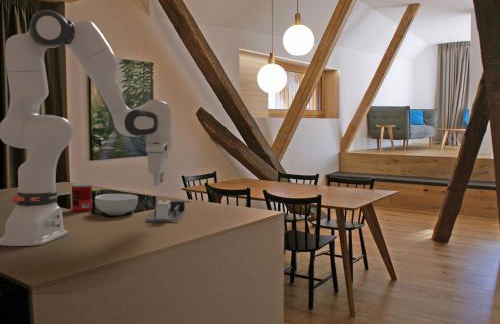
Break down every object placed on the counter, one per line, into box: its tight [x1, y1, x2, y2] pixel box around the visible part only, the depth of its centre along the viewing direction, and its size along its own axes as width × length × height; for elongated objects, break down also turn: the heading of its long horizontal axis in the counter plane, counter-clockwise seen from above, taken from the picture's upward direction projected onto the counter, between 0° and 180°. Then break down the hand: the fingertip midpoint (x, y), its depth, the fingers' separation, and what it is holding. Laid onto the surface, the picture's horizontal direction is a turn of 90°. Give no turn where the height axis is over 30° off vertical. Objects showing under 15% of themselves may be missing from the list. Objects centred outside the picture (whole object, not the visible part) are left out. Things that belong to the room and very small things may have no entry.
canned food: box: [71, 182, 93, 213], centre depth 195 cm, size 8×8×11 cm
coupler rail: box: [145, 199, 186, 223], centre depth 185 cm, size 22×12×4 cm, turn 1°
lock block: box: [156, 198, 172, 219], centre depth 177 cm, size 7×4×7 cm, turn 0°
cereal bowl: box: [94, 193, 139, 216], centre depth 189 cm, size 17×17×7 cm
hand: (158, 184), depth 168 cm, fingers open, 7 cm apart
